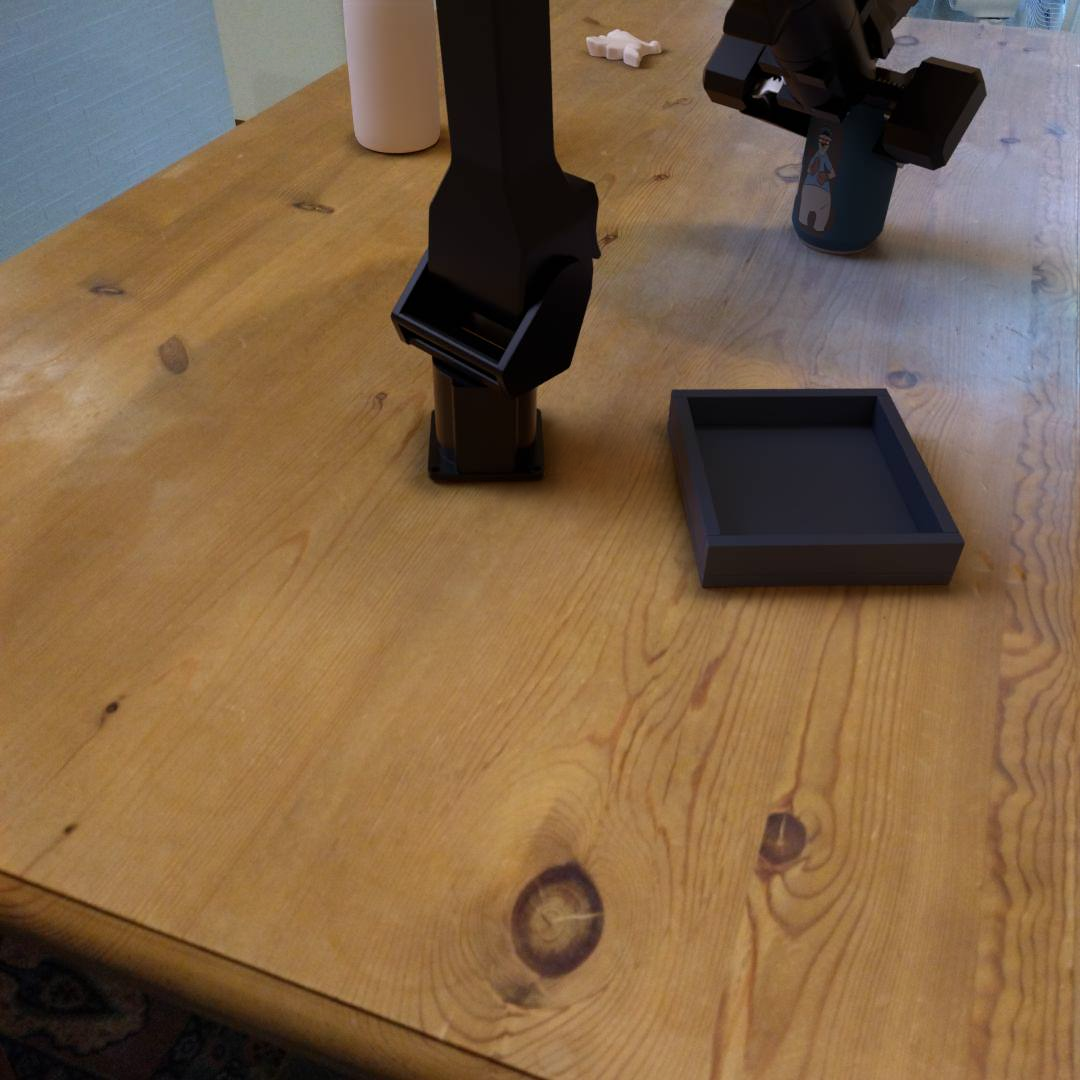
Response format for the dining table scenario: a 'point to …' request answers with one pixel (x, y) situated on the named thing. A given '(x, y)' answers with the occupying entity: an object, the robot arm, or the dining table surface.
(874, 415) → the tray
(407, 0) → the milk bottle
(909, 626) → the dining table surface
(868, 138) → the soda can
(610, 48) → the acanthus leaf ornament
